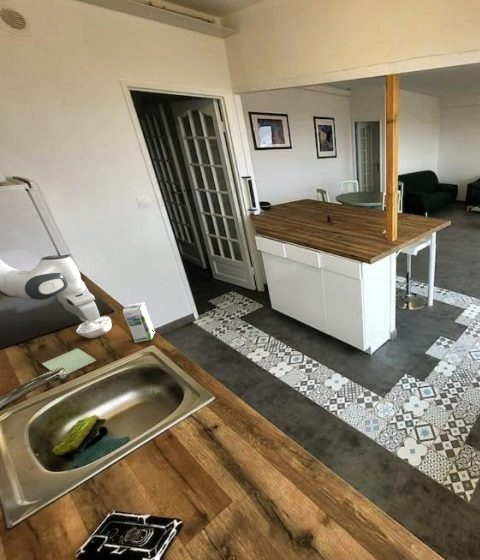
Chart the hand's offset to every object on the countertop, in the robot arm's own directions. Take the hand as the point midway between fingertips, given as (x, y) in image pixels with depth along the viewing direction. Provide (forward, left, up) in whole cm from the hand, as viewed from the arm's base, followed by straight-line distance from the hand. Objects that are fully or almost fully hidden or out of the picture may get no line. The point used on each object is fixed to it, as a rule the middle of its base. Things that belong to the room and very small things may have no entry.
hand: (87, 323), depth 127 cm
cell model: (0, -7, -3) cm, 8 cm away
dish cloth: (-13, -19, -3) cm, 23 cm away
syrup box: (+8, -25, -3) cm, 27 cm away
